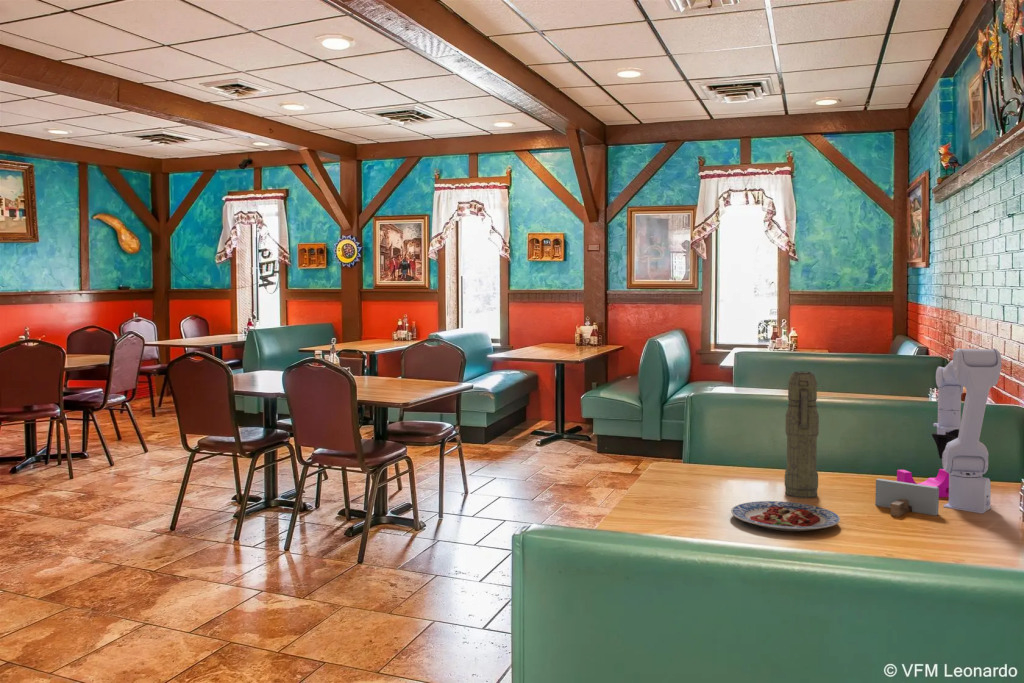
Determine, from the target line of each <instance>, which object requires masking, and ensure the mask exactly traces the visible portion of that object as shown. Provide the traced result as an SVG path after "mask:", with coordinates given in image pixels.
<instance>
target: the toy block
mask: <svg viewBox="0 0 1024 683" xmlns="http://www.w3.org/2000/svg"><path fill="white" fill-rule="evenodd" d="M896 481H899V482H906V483H913V484H920V485H927V486H934V487H939V498H949V473H948V472H946V471H945V470H944V468H939V469H938V473H937V476H936V477H928V478H927V479H925V480H924V481H923V482H918V483H917V482H916V481H915V479H914V478H913V475H912V472H911V471H908V470H906V469H897V470H896Z"/></svg>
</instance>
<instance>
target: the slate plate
mask: <svg viewBox="0 0 1024 683" xmlns="http://www.w3.org/2000/svg"><path fill="white" fill-rule="evenodd" d="M899 499H903V500H908V505H909V506H912V510H911V512H912V513H919V514H924V515H929V516H934V517H935V516H937V515H939V503H940V502H939V499H940V497H939V487H934V486H927V485H920V484H917V483H916V484H913V483H906V482H899V481H897V480H890V479H885V478H876V479H875V506H877V507H883V508H888V509H891V503H893V502H895V501H897V500H899Z"/></svg>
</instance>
